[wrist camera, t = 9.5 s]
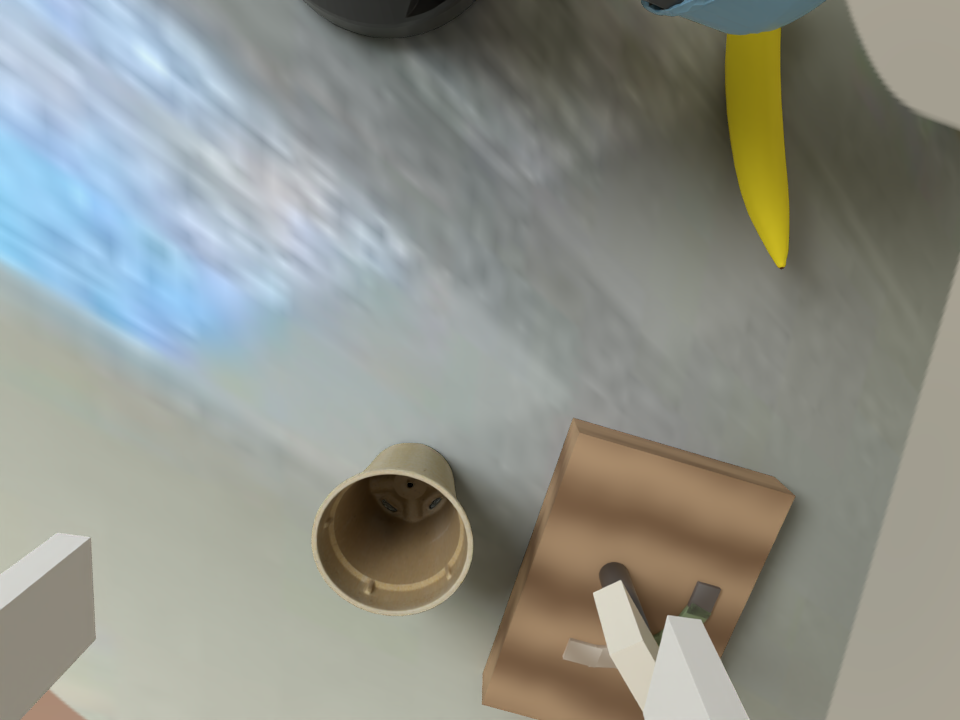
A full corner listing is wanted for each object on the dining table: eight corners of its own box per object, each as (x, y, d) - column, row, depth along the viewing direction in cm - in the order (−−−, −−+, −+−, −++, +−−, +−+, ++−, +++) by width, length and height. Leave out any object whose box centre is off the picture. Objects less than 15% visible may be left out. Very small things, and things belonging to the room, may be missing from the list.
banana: (723, 266, 38) (767, 274, 32) (710, -60, 34) (759, -123, 28) (768, 260, 38) (821, 267, 32) (761, -68, 34) (821, -133, 28)
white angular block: (577, 540, 39) (607, 655, 29) (603, 527, 39) (644, 639, 28) (647, 664, 41) (700, 813, 31) (673, 652, 41) (735, 800, 31)
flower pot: (495, 443, 41) (495, 499, 33) (454, 556, 43) (444, 635, 35) (368, 402, 41) (335, 448, 32) (332, 518, 43) (293, 589, 34)
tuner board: (573, 417, 41) (579, 434, 37) (774, 476, 41) (797, 498, 38) (482, 673, 46) (481, 707, 42) (663, 723, 46) (676, 760, 43)
